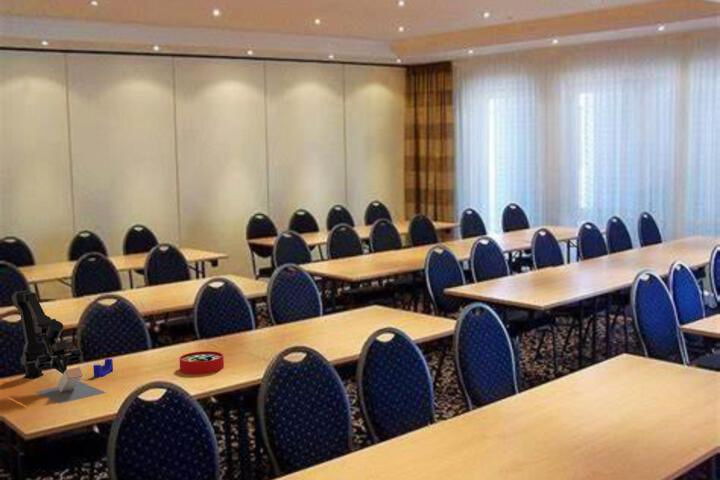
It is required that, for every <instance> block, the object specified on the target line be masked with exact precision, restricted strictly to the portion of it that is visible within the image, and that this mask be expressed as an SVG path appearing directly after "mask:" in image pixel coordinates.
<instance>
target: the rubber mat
mask: <svg viewBox="0 0 720 480" xmlns="http://www.w3.org/2000/svg"><path fill="white" fill-rule="evenodd" d="M35 393H36V394H38V395H40V396H42V397H44V398H47V399H49V400H51V401H53V402H55V403H57V404H59V405H60V404H64V403H68V402H72V401H77V400H80V399H85V398H90V397H93V396H98V395H102V394H106V393H107V392H106V391H104V390H101V389H99V388H96V387H95V386H91V385H89V384H87V383H85V382H83V381H79V382H78V384H77V385H76V387H75V389H73V390H69V391H64V392H60V390H59V387H58V386H54V387H50V388H46V389H42V390H36V391H35Z"/></svg>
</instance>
